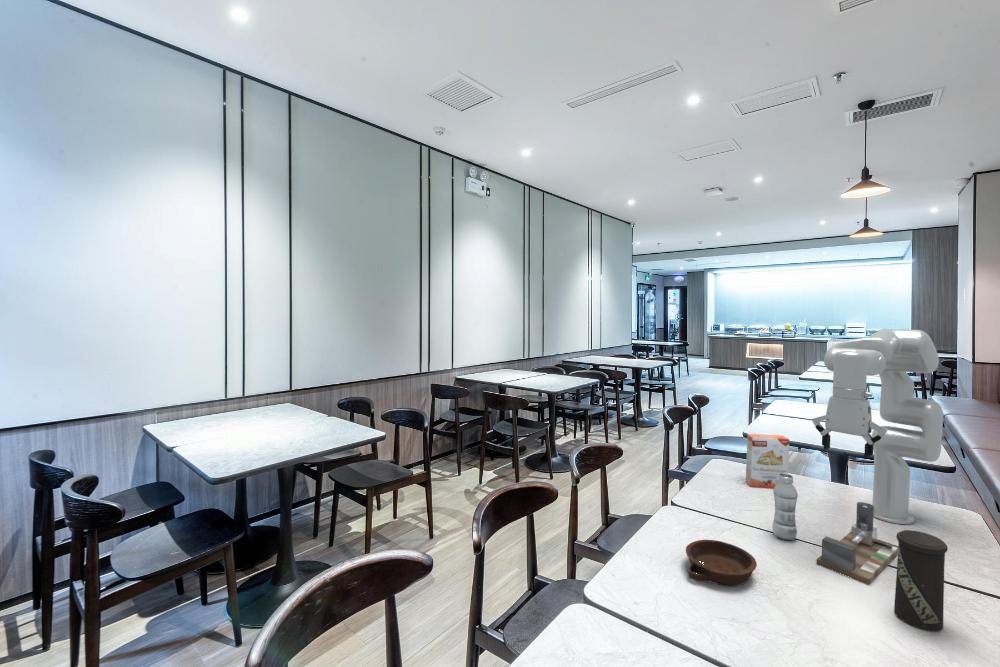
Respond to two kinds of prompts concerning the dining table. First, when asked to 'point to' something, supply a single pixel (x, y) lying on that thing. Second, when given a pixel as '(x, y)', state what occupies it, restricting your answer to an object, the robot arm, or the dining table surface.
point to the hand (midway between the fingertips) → (846, 452)
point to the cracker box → (766, 459)
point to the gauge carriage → (865, 526)
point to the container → (920, 580)
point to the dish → (719, 562)
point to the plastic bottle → (785, 508)
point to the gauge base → (856, 558)
